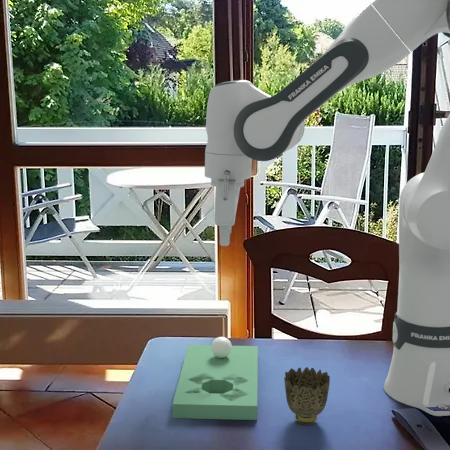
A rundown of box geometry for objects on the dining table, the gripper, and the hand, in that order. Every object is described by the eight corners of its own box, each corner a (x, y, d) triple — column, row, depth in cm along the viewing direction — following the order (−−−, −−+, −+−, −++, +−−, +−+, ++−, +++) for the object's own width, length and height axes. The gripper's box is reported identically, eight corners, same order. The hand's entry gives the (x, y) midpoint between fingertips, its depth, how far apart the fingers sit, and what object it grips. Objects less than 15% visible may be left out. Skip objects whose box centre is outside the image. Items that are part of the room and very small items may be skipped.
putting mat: (257, 357, 138) (257, 346, 137) (257, 420, 112) (257, 406, 112) (188, 356, 138) (188, 344, 138) (172, 417, 113) (172, 403, 112)
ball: (232, 353, 134) (232, 333, 133) (231, 361, 130) (231, 341, 129) (211, 352, 134) (211, 333, 133) (210, 361, 130) (210, 341, 129)
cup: (327, 434, 108) (329, 387, 106) (280, 430, 109) (281, 383, 107) (329, 412, 115) (331, 368, 113) (286, 408, 116) (287, 364, 115)
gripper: (243, 176, 118) (240, 253, 121) (245, 162, 138) (243, 228, 141) (207, 174, 119) (205, 251, 121) (214, 161, 139) (212, 227, 141)
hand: (225, 239), depth 131 cm, fingers open, 8 cm apart
